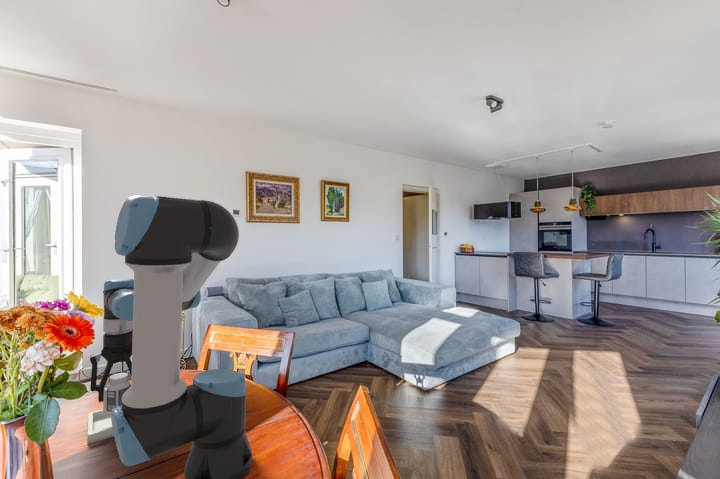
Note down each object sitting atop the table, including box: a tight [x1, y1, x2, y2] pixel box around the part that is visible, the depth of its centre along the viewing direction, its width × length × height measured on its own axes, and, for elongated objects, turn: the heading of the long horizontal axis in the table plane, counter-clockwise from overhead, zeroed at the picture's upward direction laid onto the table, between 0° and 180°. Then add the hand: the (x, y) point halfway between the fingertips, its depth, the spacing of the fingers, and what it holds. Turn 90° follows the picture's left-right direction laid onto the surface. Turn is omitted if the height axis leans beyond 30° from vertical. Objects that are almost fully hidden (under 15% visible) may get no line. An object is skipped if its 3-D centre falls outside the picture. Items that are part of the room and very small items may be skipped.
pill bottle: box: [107, 372, 131, 413], centre depth 96 cm, size 6×6×10 cm
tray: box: [87, 408, 114, 445], centre depth 96 cm, size 14×14×2 cm
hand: (118, 407), depth 96 cm, fingers closed on pill bottle, 6 cm apart
